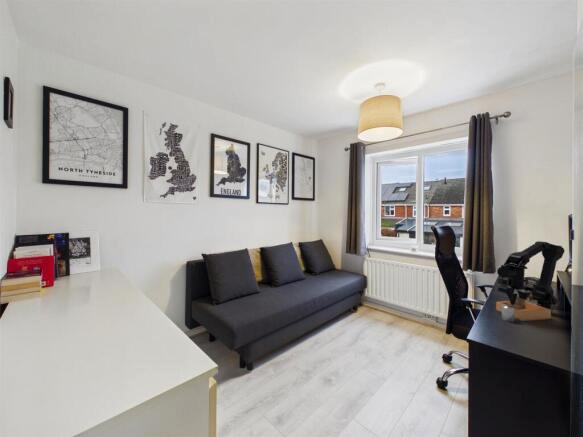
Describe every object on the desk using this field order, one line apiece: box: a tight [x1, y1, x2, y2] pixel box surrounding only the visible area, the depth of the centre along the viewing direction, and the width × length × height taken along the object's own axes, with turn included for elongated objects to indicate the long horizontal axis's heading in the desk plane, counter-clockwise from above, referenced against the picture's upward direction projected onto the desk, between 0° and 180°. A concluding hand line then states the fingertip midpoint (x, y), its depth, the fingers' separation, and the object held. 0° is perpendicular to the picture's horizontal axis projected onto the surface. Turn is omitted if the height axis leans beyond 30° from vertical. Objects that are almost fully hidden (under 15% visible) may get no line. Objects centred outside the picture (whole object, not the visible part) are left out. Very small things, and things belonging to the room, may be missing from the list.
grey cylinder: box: [501, 305, 515, 323], centre depth 130 cm, size 5×5×7 cm
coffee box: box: [524, 276, 540, 305], centre depth 153 cm, size 9×6×16 cm
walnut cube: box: [507, 297, 525, 309], centre depth 136 cm, size 5×5×5 cm
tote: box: [495, 300, 552, 322], centre depth 137 cm, size 18×14×5 cm
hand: (516, 304), depth 136 cm, fingers closed on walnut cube, 5 cm apart
